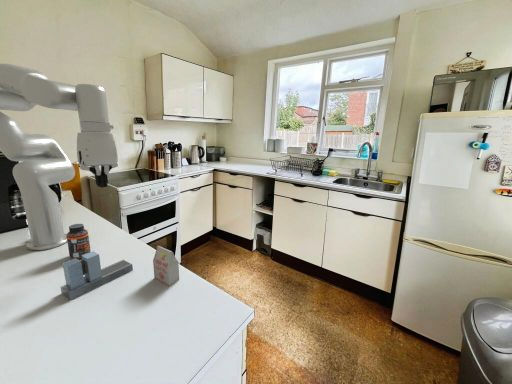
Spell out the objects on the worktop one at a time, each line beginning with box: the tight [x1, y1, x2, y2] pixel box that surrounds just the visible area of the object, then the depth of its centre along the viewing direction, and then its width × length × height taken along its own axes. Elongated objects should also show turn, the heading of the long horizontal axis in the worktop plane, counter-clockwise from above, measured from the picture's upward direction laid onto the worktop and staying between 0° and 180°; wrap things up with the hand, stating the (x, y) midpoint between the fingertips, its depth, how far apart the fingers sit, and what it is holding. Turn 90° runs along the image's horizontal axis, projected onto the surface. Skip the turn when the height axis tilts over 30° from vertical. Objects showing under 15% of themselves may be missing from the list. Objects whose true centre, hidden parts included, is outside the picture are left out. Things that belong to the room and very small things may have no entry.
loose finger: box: [80, 250, 102, 281], centre depth 67 cm, size 3×4×7 cm
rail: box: [60, 258, 134, 301], centre depth 69 cm, size 5×17×9 cm, turn 149°
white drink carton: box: [152, 245, 180, 287], centre depth 71 cm, size 4×7×10 cm, turn 58°
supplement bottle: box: [66, 223, 92, 260], centre depth 81 cm, size 6×6×11 cm
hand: (102, 186), depth 77 cm, fingers closed
